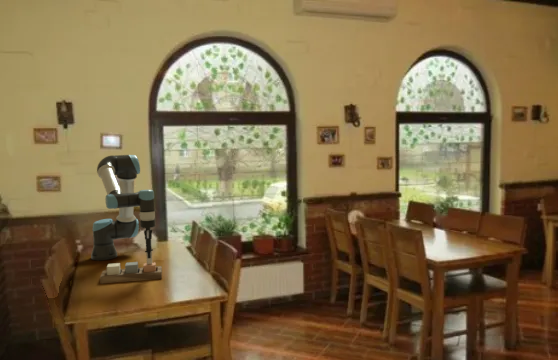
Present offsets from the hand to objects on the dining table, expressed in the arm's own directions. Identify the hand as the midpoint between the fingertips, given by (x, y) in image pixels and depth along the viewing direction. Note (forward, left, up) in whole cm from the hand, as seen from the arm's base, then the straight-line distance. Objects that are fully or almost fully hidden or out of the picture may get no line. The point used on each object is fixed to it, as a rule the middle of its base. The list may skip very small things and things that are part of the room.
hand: (149, 263), depth 253 cm
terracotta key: (0, 0, -5) cm, 5 cm away
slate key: (0, -9, -4) cm, 10 cm away
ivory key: (0, -18, -4) cm, 18 cm away
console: (0, -9, -7) cm, 11 cm away
